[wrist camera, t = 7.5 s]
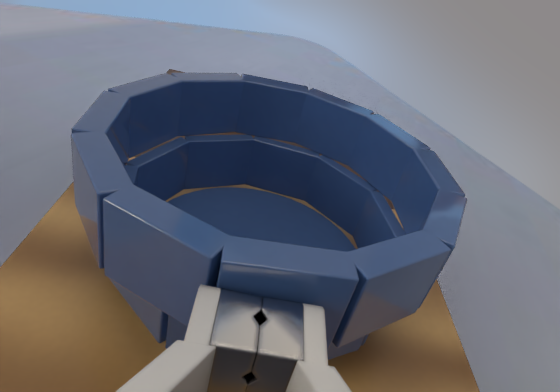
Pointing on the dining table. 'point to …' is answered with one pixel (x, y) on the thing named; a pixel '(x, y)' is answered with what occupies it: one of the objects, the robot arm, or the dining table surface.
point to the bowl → (260, 202)
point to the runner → (144, 348)
